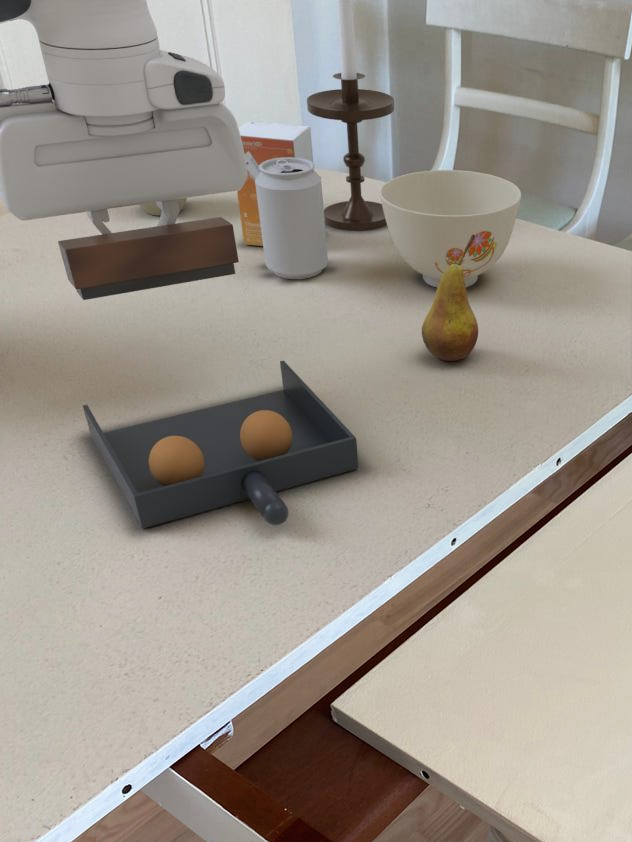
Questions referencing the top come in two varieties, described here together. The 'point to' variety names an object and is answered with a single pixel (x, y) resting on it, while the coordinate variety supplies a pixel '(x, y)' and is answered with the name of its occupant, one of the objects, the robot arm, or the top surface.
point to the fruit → (451, 317)
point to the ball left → (175, 460)
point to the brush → (149, 257)
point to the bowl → (450, 220)
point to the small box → (261, 147)
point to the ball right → (265, 435)
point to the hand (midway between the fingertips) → (142, 254)
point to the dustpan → (228, 455)
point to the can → (291, 217)
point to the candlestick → (351, 127)
